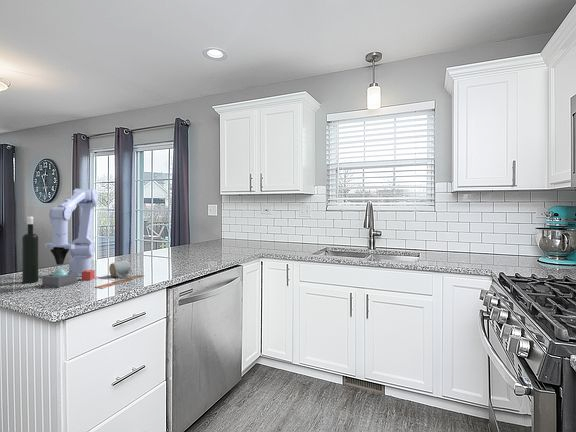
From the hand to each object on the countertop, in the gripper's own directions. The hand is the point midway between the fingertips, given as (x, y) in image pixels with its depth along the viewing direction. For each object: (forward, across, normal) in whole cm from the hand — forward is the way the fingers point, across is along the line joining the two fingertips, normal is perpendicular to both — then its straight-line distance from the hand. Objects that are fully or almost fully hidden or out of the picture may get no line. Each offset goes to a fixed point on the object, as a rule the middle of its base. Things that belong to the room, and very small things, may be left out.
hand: (60, 264), depth 145 cm
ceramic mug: (+9, +13, +23) cm, 28 cm away
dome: (+7, 0, 0) cm, 7 cm away
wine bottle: (+9, -16, -1) cm, 19 cm away
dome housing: (+9, 0, 0) cm, 9 cm away
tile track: (+9, +20, +14) cm, 26 cm away
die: (+9, +3, +12) cm, 15 cm away
